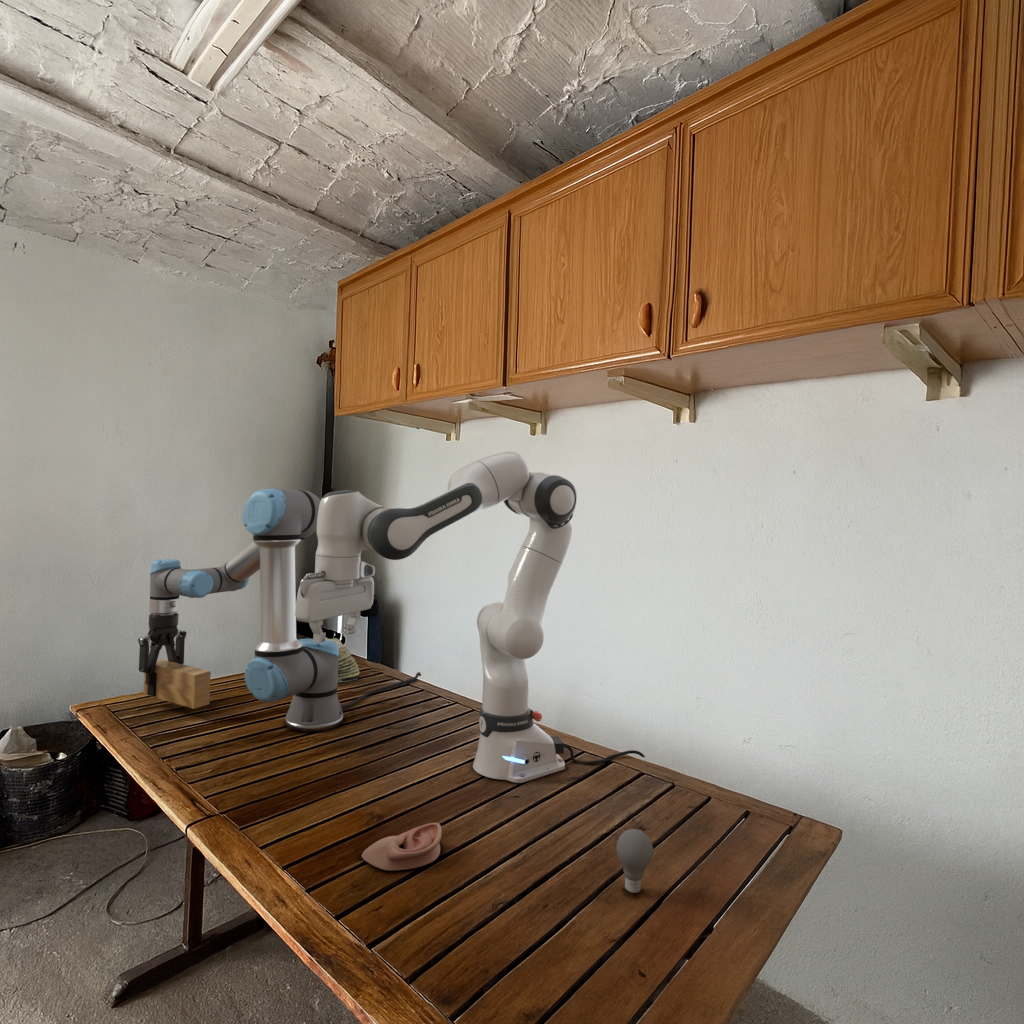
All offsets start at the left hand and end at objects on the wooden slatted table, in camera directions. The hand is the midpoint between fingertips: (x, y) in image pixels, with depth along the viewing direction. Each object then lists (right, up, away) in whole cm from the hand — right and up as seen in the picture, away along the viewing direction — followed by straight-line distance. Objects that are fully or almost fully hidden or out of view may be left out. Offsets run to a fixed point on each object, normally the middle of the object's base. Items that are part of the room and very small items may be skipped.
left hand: (160, 692), depth 184 cm
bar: (+6, -1, -3) cm, 7 cm away
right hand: (+66, +27, -55) cm, 90 cm away
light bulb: (+122, -11, -78) cm, 145 cm away
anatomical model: (+82, -9, -70) cm, 108 cm away
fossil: (+40, -5, +33) cm, 52 cm away
